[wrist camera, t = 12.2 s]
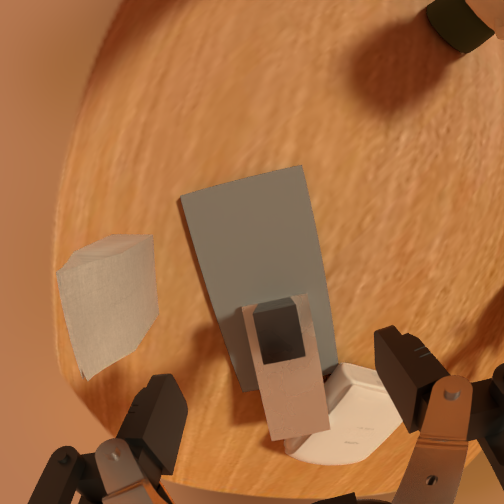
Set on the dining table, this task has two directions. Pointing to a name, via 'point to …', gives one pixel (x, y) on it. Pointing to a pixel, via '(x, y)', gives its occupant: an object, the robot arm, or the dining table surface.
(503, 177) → the dining table surface
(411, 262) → the dining table surface
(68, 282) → the tea bag
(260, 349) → the grey l-shaped piece
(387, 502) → the robot arm
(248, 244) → the mat
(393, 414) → the photo printer
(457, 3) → the character mug
